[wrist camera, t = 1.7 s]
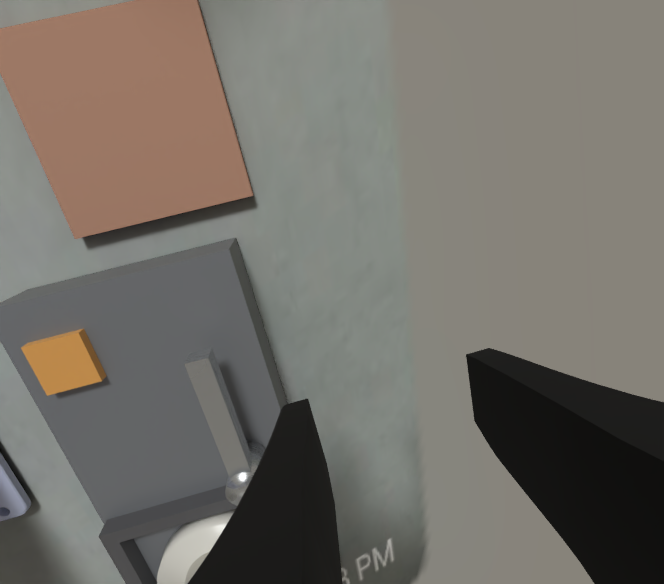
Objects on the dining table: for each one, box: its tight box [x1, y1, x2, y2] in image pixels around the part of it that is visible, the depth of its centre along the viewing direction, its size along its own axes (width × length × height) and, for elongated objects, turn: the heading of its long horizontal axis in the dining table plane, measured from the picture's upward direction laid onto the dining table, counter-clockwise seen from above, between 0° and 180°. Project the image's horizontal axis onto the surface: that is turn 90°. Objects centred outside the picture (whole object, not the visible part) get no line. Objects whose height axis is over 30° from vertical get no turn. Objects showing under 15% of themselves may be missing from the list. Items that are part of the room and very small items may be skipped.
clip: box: [184, 347, 265, 506], centre depth 16 cm, size 1×14×2 cm, turn 13°
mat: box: [0, 0, 254, 239], centre depth 14 cm, size 7×7×1 cm
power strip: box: [0, 238, 288, 584], centre depth 17 cm, size 9×20×3 cm, turn 13°
